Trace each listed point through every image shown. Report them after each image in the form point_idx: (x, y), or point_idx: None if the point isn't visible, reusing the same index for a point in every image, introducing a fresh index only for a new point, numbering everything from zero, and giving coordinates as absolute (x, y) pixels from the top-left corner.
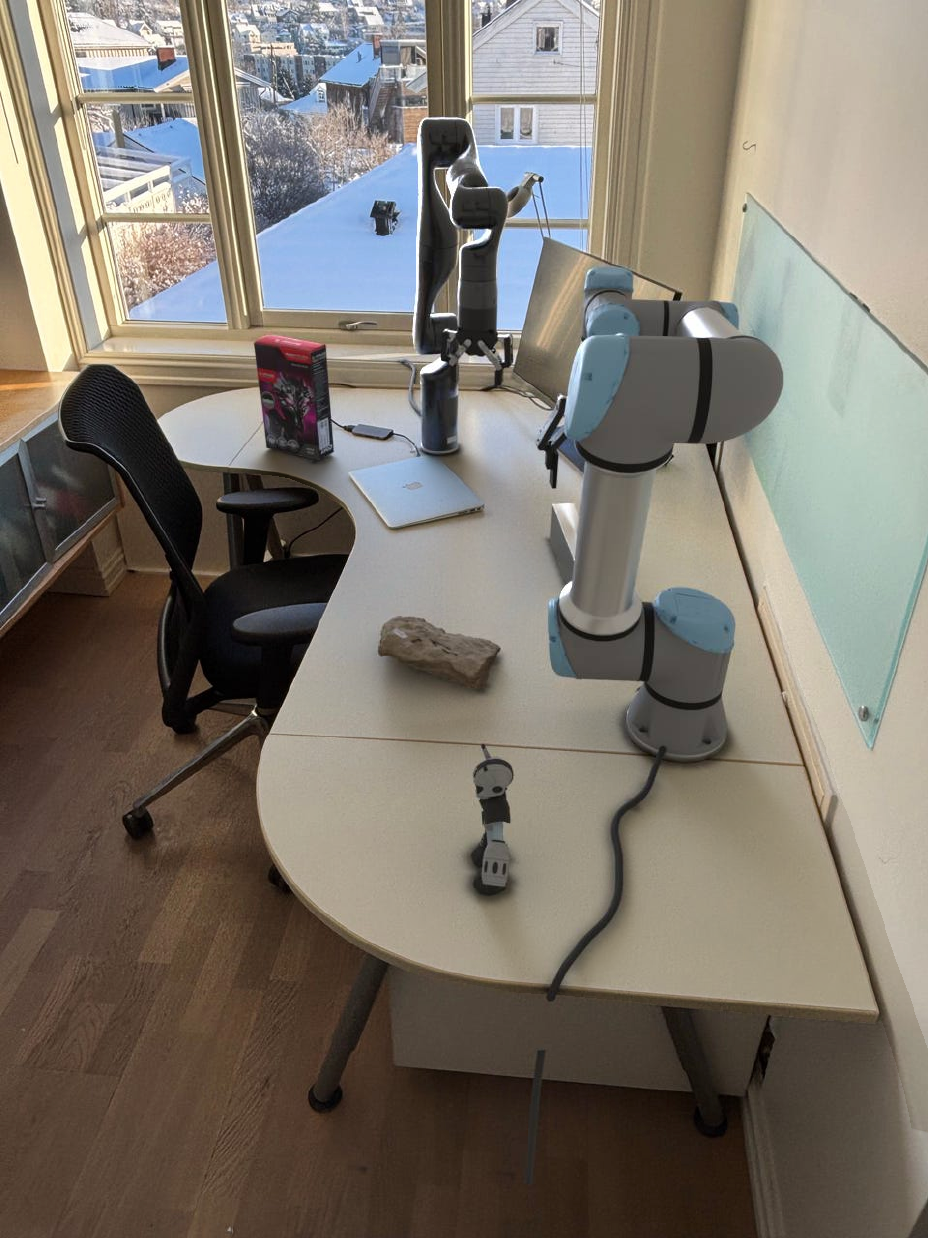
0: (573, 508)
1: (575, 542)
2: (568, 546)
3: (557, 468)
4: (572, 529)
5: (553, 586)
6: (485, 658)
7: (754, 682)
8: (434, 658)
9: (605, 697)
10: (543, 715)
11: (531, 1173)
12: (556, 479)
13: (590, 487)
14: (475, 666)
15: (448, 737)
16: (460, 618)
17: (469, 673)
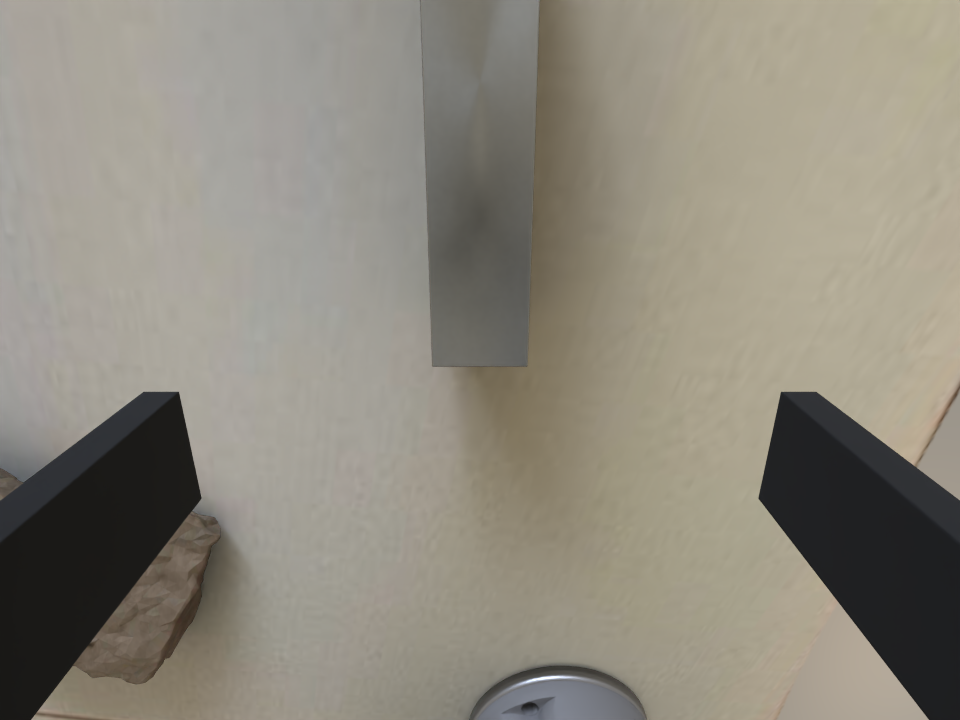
0: None
1: (462, 188)
2: (427, 213)
3: (95, 632)
4: (472, 51)
5: (397, 208)
6: (171, 622)
7: (774, 634)
8: None
9: (449, 651)
10: (319, 683)
11: None
12: (157, 551)
13: None
14: (146, 663)
15: (142, 716)
16: (109, 360)
17: (135, 681)
